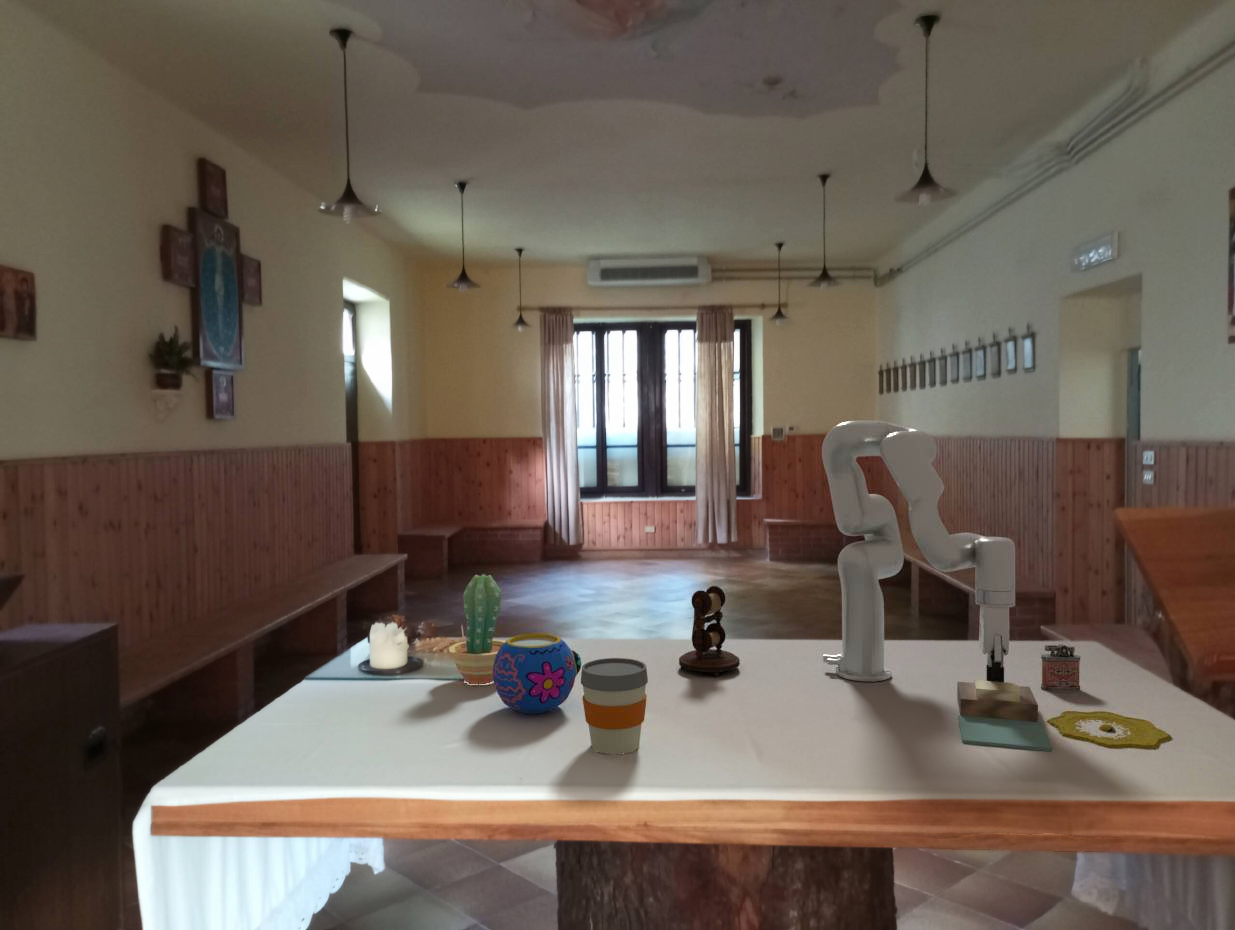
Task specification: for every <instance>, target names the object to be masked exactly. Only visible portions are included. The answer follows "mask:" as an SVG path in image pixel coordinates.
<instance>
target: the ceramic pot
mask: <svg viewBox="0 0 1235 930" xmlns="http://www.w3.org/2000/svg"><path fill="white" fill-rule="evenodd" d="M505 641H506V642H505V643H504V644H503V645H502V646H501V647H500V649H499V651H498V653H497V655H496V658H495V661H494V666H493V679H494V684H493V685H494V687H495V690H496V692H497V695H498V696H499V698H500V700H501V701H502V703H503V704H504V705H506V706H507V707H509V708H510V709H512V710H515V711H516V712H521V713H526V714H539V713H540V712H541V713H544V712H549V711H551V710H553V709H555V708H557V707H559V706H561V705H562V704H564V703H565V701H566V700H567V699H568V697H569V696H570V694H571V692H572V690H573V687H574V685H575V681H576V677H577V676H578V674H579V672H580V670H582V658H581V657H580V655H579V653H578V652H576V651H575V650H573V649H571V648H570V647H569V645H568V644H567V643H566V641H564V640H563V639H562V638H561V637H559V636H557V635H554V634H549V633H528V634H527V633H526V634H521V635H520V634H519V635H515V636H512V637H510V638H508V639H507V640H505Z"/></svg>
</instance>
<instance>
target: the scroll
mask: <svg viewBox="0 0 1235 930" xmlns="http://www.w3.org/2000/svg"><path fill="white" fill-rule="evenodd" d="M725 603H726V594H725V592H724V590H723V589H722V588H721V587H720V586H718V585H717V586H716V585H711V586H710V587H708V588H707V589H706V591H705V590H696V591H695V592H694V593H693V594H692V597H691V605H692V608H693V610H694V611H693V623H692V631H691V633H692V634H691V642H692V643H691V644H692V647H693V649H694V650H691V651H688V652H685V653H684V654H682V655H681V656H680V657H679V658H678V664H679V666H680V670H681V671H682V672H684V671H685V670H689V671H694V672H701V673H703V672H704V673H714V676H715V678H718V677H719V675H720V672H727V671H732V670H735V669H736V668H738V667H739V666H740V661H741V660H740V658H739V656H737V655H735V654H734V653H732V652H729V651H726V650H722V648H723V644H724V643H725V641H726V631H725V629H724V627H723V626H722V624H721V621H722V619H723V617H724V616H723V612H722V611H721V610H722V607H723V606H724V605H725ZM713 621H716V623H715V622H714V623H711V622H713ZM706 623H707V624H708V623H710V624H708V625H707V626H706V628H705V624H706ZM714 647H715V648H716V649H712V648H714Z"/></svg>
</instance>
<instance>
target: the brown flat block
mask: <svg viewBox="0 0 1235 930" xmlns="http://www.w3.org/2000/svg"><path fill="white" fill-rule="evenodd" d="M956 685H957V690H956V693H957V694H956V695H957V699H956V701H957V705H958V710H959V715H961V716H973V717H985V718H996V719H1008V720H1020V721H1032V722H1039V704H1038V702H1037V700H1036V698H1035V695H1034V694H1033V691H1032V689H1031V687H1030V686H1023V685H1018V688H1019V690H1020V702H1015V701H1003V700H990V699H978V698H976V695H975V690H974V682H968V681H967V682H966V681H957V683H956Z"/></svg>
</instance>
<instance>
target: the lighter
mask: <svg viewBox="0 0 1235 930" xmlns="http://www.w3.org/2000/svg"><path fill="white" fill-rule="evenodd" d="M1075 648H1076V647H1075V646H1074V645H1065V644H1063V643H1058V645H1057V644H1045V645H1044V651H1046V652H1050V653H1042V654H1040V659H1041V683H1040V689H1041V690H1043V691H1046V692H1047V691H1048V692H1063V693H1064V692H1068V693H1069V692H1080V691H1081V685H1080V661H1081V656H1080V655H1078V654H1074V653H1075V651H1076V650H1075Z"/></svg>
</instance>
